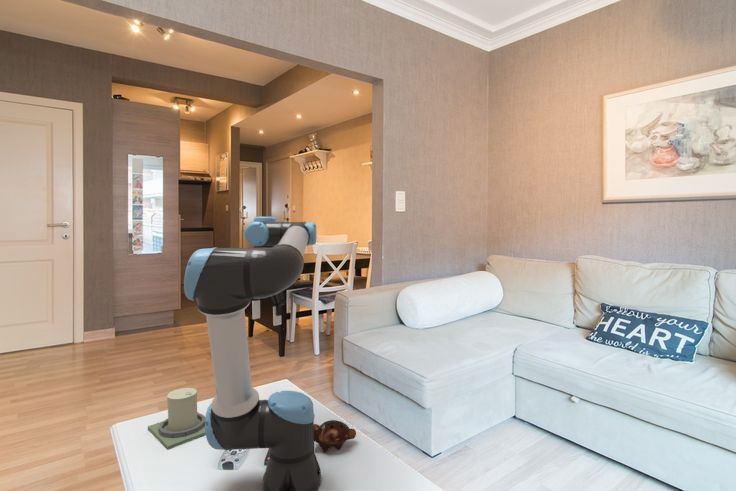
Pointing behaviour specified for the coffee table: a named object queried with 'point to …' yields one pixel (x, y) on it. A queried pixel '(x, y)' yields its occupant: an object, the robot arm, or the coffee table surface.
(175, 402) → the can
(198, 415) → the deck mount
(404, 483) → the coffee table surface
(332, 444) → the decorative turtle
